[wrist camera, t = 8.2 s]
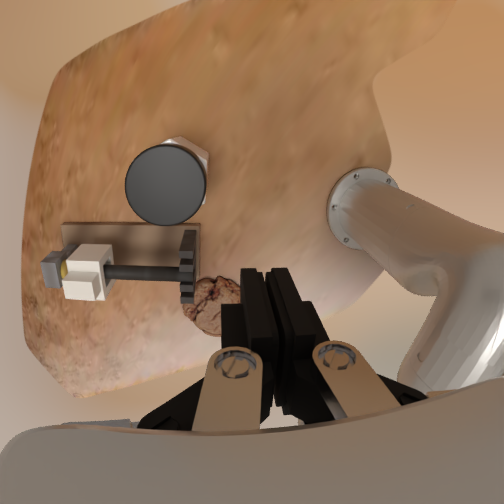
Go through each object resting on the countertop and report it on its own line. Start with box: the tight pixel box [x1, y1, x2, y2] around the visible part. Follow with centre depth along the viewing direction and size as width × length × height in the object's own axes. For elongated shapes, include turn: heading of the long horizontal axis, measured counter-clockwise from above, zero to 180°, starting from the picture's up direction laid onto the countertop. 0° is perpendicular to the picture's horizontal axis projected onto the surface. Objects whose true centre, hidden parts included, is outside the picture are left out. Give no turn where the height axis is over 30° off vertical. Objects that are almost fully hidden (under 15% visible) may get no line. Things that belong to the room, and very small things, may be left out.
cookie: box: [183, 276, 240, 337], centre depth 47 cm, size 10×11×3 cm
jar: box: [125, 136, 209, 226], centre depth 33 cm, size 9×8×12 cm
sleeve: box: [62, 244, 116, 301], centre depth 34 cm, size 4×5×8 cm
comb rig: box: [40, 222, 200, 304], centre depth 38 cm, size 21×8×9 cm, turn 86°
